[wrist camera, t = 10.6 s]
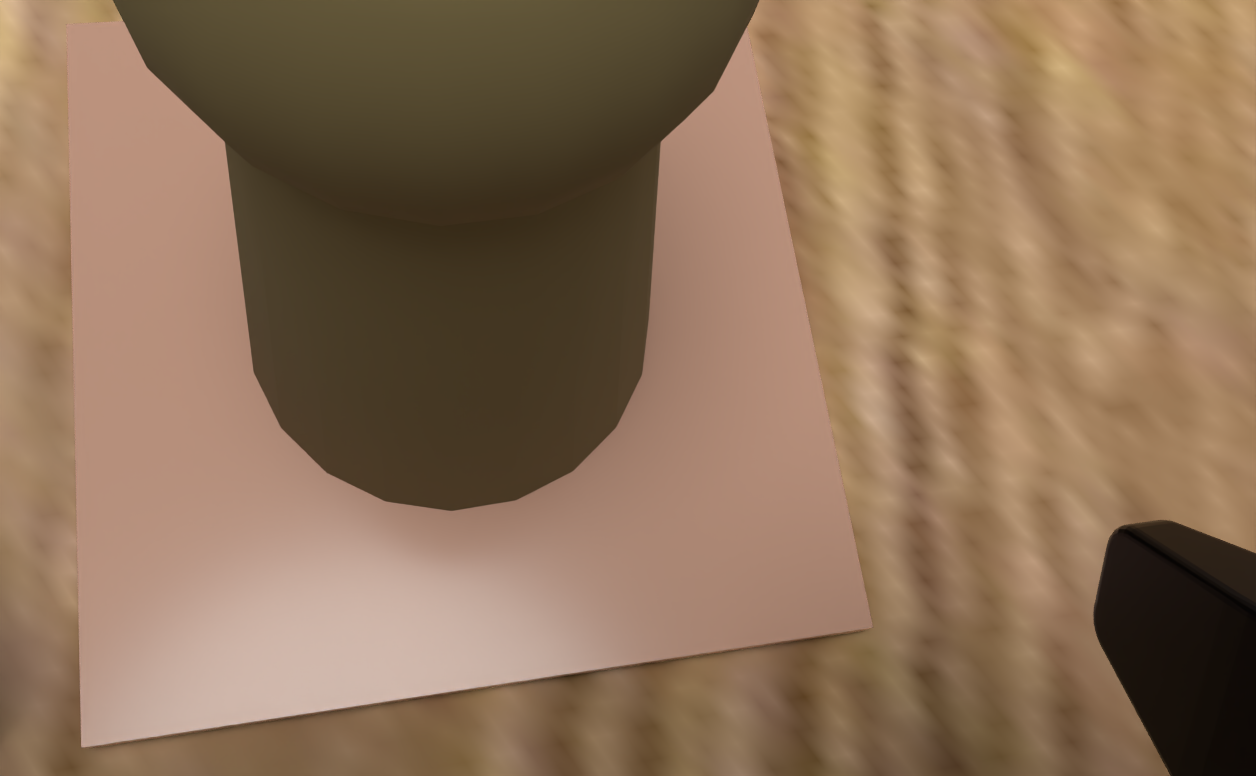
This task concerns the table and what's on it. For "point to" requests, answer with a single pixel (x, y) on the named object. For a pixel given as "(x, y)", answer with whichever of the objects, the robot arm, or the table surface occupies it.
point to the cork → (443, 216)
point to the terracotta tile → (412, 535)
